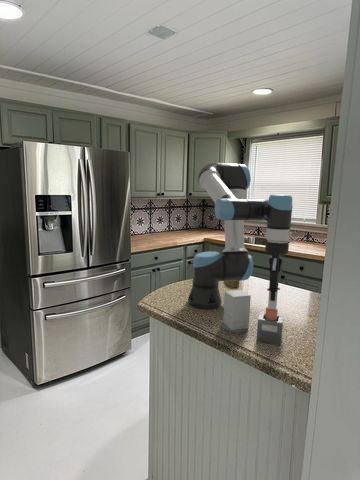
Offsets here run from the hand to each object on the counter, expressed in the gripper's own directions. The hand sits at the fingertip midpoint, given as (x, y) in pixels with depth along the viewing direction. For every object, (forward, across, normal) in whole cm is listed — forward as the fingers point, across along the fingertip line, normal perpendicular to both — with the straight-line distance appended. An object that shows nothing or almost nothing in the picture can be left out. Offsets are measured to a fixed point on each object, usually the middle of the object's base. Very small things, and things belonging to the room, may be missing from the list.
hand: (272, 308), depth 110 cm
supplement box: (+10, +4, +13) cm, 17 cm away
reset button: (+7, 0, 0) cm, 7 cm away
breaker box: (+11, 0, 0) cm, 11 cm away
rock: (+11, +58, +26) cm, 65 cm away
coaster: (+11, +4, +13) cm, 18 cm away
